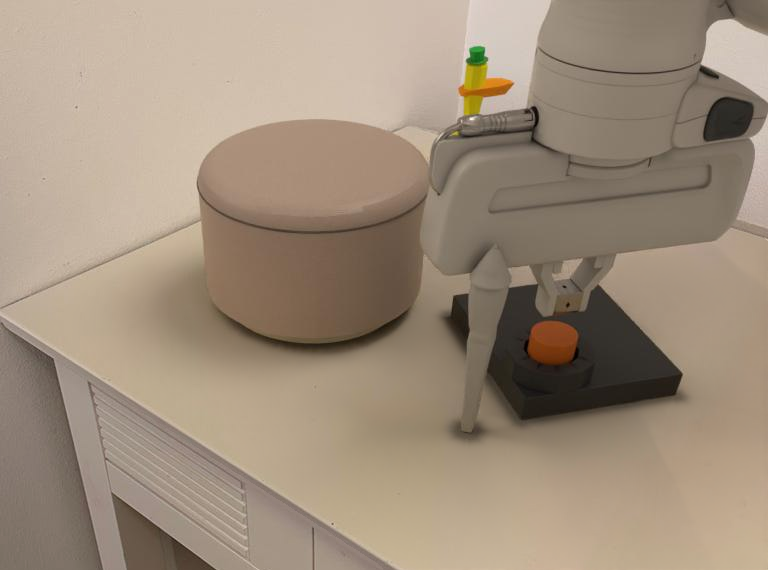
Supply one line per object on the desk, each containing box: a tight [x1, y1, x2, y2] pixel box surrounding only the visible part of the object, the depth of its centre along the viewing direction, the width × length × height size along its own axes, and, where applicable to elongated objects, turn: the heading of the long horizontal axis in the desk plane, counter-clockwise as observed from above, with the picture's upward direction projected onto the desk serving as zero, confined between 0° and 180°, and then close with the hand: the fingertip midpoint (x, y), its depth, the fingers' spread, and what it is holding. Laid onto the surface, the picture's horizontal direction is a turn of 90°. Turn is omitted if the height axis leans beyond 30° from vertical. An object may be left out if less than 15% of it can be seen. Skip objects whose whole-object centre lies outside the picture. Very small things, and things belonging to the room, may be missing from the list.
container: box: [196, 118, 430, 344], centre depth 71 cm, size 18×18×12 cm
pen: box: [460, 245, 513, 433], centre depth 57 cm, size 2×3×14 cm
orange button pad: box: [450, 283, 684, 420], centre depth 67 cm, size 12×14×4 cm
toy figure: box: [450, 45, 515, 135], centre depth 89 cm, size 7×4×12 cm, turn 106°
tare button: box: [527, 321, 578, 365], centre depth 62 cm, size 3×3×2 cm
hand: (559, 310), depth 60 cm, fingers closed
